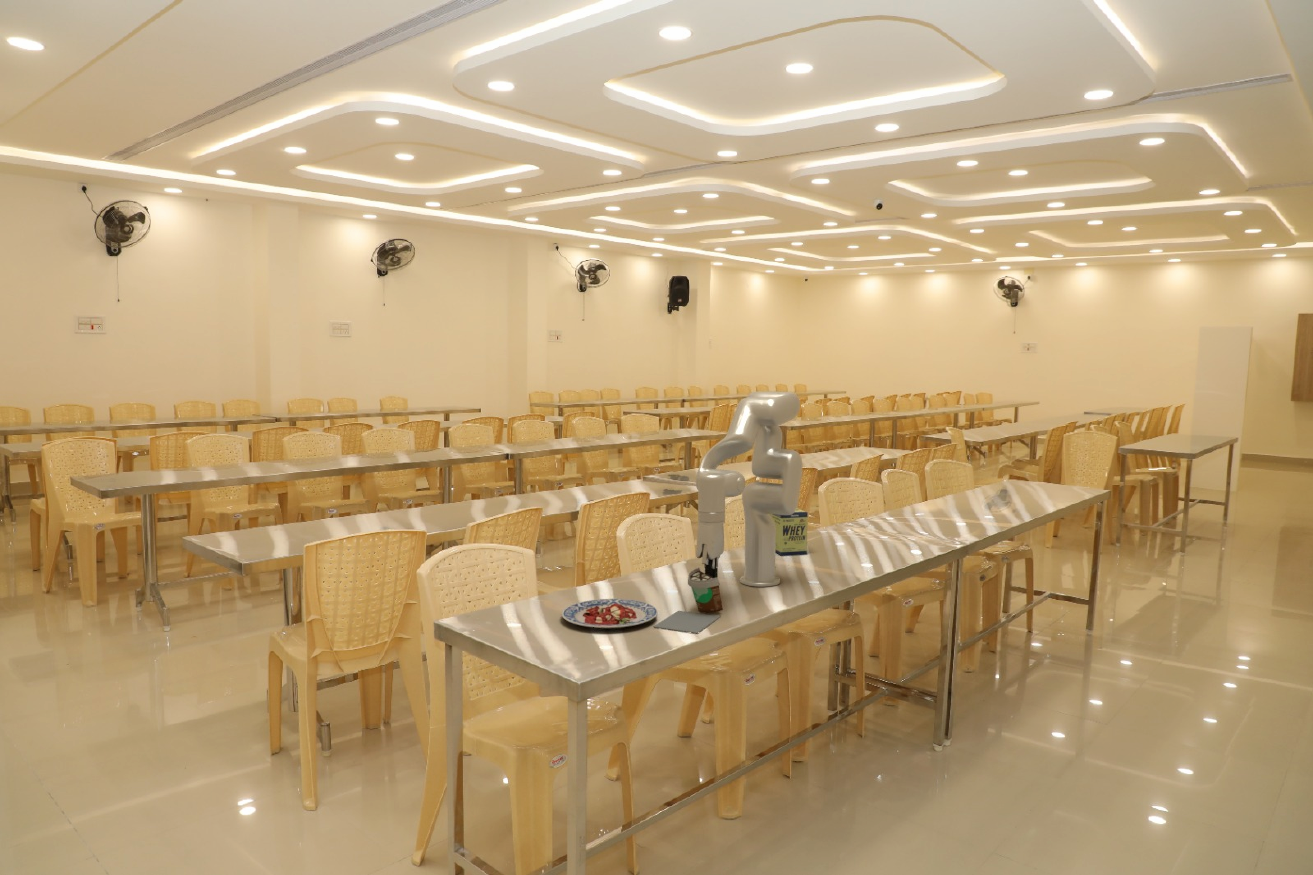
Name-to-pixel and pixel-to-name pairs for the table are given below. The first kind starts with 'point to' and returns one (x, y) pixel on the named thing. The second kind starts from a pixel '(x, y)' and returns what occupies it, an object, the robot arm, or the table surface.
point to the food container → (705, 591)
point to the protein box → (791, 533)
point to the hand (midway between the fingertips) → (711, 581)
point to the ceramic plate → (609, 613)
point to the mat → (687, 622)
